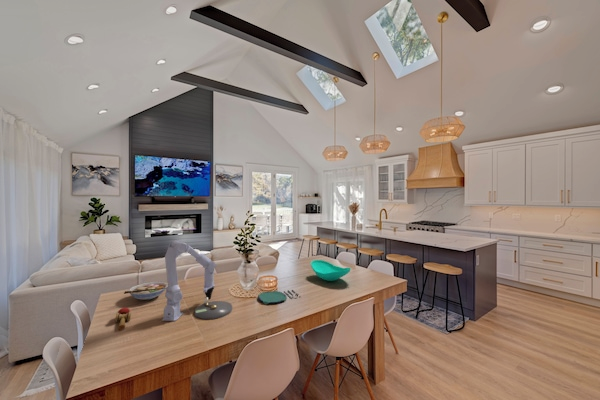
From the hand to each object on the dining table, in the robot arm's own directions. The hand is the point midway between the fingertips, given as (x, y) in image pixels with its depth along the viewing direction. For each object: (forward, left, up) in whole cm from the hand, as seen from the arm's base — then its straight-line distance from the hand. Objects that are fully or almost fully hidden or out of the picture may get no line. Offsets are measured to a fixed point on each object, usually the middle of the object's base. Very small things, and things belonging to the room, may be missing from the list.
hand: (208, 299), depth 162 cm
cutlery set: (+13, -46, -4) cm, 47 cm away
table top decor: (+53, -88, -4) cm, 102 cm away
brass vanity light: (-7, -3, -2) cm, 8 cm away
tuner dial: (-9, -7, -3) cm, 12 cm away
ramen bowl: (+9, +44, -4) cm, 46 cm away
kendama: (-25, +38, -4) cm, 46 cm away
